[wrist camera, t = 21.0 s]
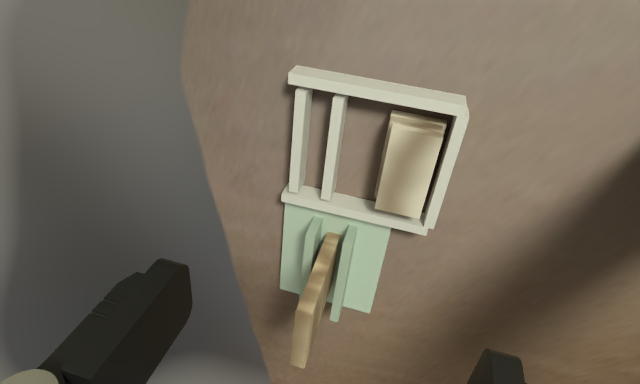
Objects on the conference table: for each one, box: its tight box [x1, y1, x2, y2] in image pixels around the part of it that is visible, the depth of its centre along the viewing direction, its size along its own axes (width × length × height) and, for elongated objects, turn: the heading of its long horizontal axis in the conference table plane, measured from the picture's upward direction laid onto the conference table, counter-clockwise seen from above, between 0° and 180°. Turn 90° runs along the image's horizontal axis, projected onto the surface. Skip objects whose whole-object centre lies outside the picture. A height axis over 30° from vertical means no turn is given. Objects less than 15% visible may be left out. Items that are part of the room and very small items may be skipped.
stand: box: [280, 202, 391, 322], centre depth 48 cm, size 12×14×4 cm
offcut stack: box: [374, 110, 447, 219], centre depth 39 cm, size 5×9×4 cm, turn 174°
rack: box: [281, 65, 469, 236], centre depth 41 cm, size 16×14×2 cm
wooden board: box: [290, 232, 340, 368], centre depth 44 cm, size 2×8×12 cm, turn 174°
